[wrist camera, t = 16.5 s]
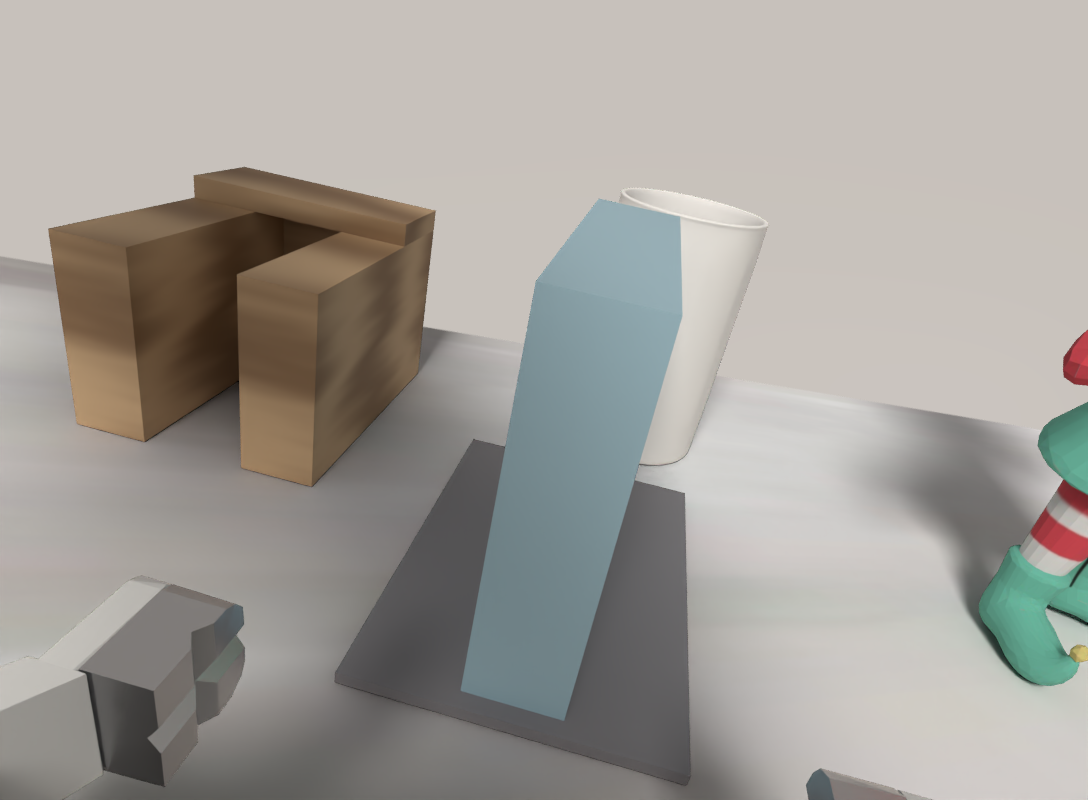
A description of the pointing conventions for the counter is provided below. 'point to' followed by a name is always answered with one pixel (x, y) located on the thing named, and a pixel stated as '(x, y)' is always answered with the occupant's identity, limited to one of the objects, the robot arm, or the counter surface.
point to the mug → (699, 308)
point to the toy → (1049, 553)
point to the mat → (611, 651)
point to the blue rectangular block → (573, 451)
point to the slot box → (247, 313)
